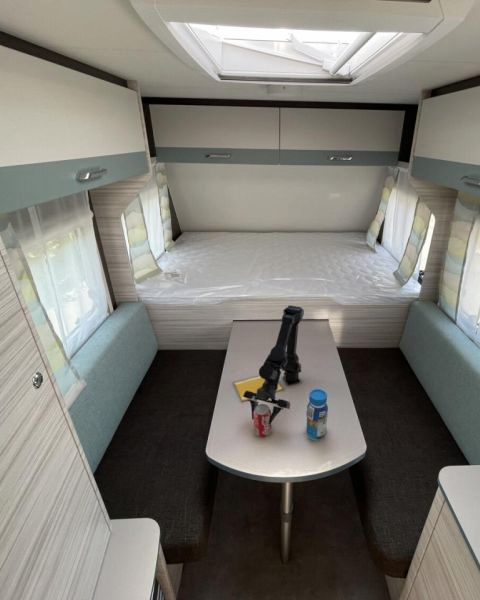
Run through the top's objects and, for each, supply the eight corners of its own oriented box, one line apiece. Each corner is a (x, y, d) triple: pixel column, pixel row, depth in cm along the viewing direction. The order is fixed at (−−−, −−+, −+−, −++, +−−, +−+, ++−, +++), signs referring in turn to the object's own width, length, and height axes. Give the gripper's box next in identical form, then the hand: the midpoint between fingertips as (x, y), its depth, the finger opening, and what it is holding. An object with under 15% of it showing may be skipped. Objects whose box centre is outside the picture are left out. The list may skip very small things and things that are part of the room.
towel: (271, 373, 168) (271, 372, 168) (282, 389, 157) (282, 388, 156) (234, 383, 161) (234, 382, 161) (242, 401, 149) (242, 400, 149)
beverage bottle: (305, 424, 136) (306, 386, 128) (325, 425, 136) (328, 387, 128) (305, 441, 129) (307, 401, 120) (327, 441, 128) (330, 402, 120)
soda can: (274, 427, 135) (273, 405, 130) (267, 440, 129) (266, 417, 124) (258, 423, 137) (257, 401, 132) (251, 435, 131) (250, 413, 126)
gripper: (243, 374, 130) (232, 414, 125) (287, 385, 124) (277, 427, 119) (253, 378, 140) (242, 416, 135) (294, 388, 134) (285, 428, 129)
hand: (261, 421), depth 129 cm, fingers closed on soda can, 7 cm apart
